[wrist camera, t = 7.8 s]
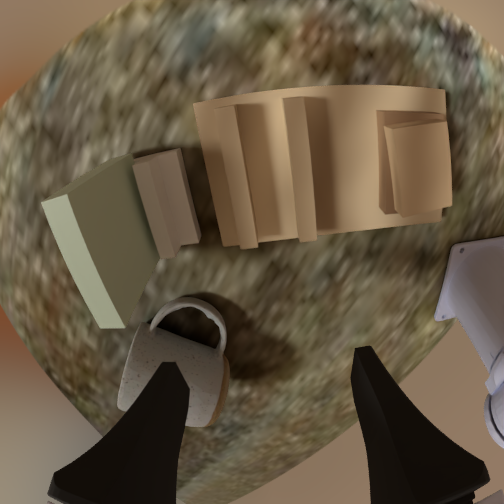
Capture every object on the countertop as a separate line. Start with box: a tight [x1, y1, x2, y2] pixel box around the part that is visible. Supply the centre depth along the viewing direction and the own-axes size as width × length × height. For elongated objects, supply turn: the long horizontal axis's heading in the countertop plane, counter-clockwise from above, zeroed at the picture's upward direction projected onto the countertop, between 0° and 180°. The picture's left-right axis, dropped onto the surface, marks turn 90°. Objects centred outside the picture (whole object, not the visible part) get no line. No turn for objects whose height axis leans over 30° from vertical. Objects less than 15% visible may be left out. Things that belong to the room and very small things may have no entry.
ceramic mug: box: [117, 297, 230, 427], centre depth 22 cm, size 11×8×8 cm
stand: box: [80, 148, 201, 259], centre depth 18 cm, size 7×6×2 cm
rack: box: [193, 85, 446, 249], centre depth 16 cm, size 15×9×2 cm, turn 99°
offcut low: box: [376, 110, 444, 215], centre depth 15 cm, size 4×6×1 cm, turn 9°
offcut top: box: [384, 119, 452, 218], centre depth 14 cm, size 4×5×1 cm
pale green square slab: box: [41, 153, 160, 328], centre depth 15 cm, size 2×7×7 cm, turn 9°
